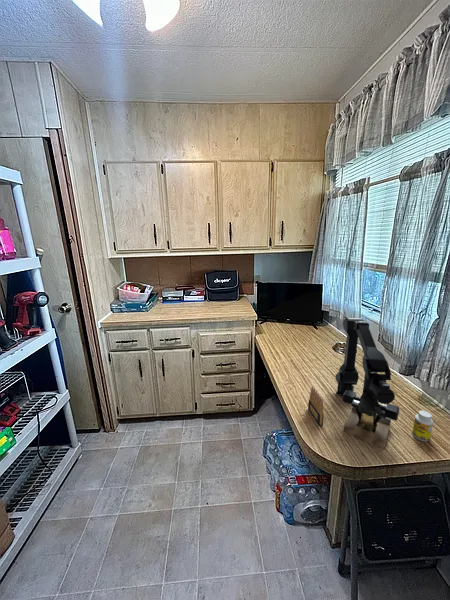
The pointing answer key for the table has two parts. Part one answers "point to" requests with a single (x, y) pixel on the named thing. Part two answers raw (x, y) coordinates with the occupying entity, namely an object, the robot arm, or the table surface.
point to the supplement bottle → (422, 426)
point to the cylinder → (367, 422)
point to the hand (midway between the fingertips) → (367, 422)
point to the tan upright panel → (316, 406)
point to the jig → (367, 436)
